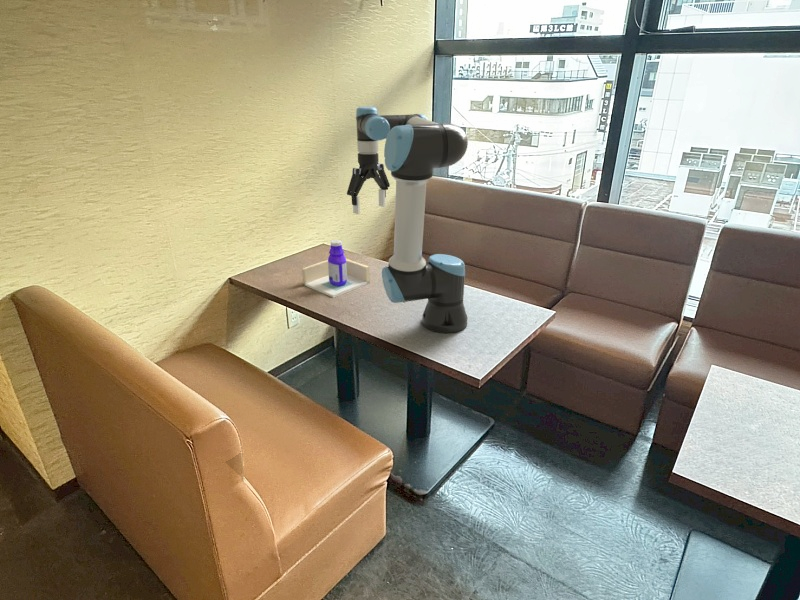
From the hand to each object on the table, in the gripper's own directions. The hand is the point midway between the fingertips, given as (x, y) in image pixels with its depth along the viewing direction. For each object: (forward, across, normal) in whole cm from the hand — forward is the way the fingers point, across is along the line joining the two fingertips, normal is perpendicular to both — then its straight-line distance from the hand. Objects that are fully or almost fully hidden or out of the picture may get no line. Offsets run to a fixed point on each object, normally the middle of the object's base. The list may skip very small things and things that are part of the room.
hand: (369, 209), depth 192 cm
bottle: (+28, +13, -5) cm, 31 cm away
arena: (+29, +12, -7) cm, 32 cm away
